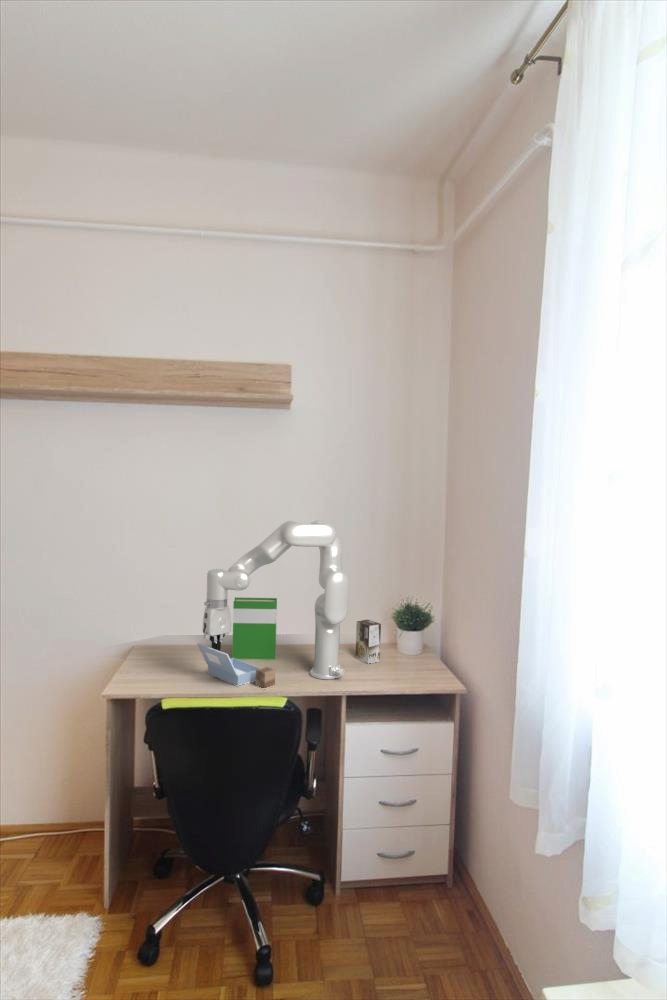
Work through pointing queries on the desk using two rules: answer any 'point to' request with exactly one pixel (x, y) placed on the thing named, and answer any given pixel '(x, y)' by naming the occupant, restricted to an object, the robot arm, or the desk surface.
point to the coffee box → (368, 641)
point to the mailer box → (243, 670)
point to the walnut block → (265, 677)
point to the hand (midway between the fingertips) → (216, 652)
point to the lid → (217, 659)
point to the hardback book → (254, 628)
